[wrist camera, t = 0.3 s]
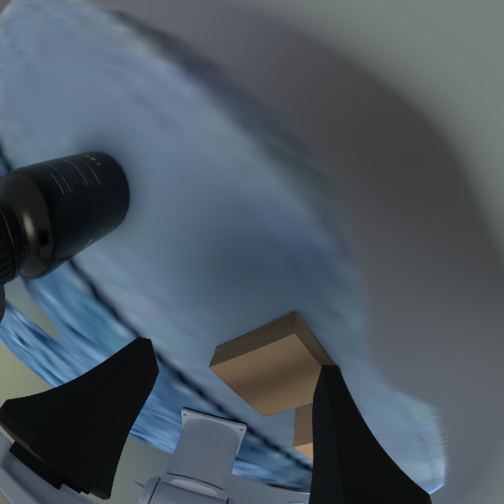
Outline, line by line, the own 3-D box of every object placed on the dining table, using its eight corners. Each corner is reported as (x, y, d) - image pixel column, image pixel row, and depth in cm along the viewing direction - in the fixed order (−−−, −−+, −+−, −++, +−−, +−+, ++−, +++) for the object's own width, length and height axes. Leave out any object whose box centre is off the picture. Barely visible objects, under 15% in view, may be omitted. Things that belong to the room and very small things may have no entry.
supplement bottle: (116, 247, 21) (12, 332, 10) (63, 207, 21) (-42, 263, 10) (144, 174, 18) (5, 233, 7) (83, 136, 18) (-46, 166, 7)
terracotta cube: (356, 414, 25) (359, 451, 21) (317, 427, 27) (315, 462, 23) (339, 393, 24) (342, 434, 20) (296, 408, 26) (293, 446, 21)
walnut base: (339, 367, 23) (341, 392, 20) (267, 393, 26) (263, 416, 23) (295, 308, 21) (294, 333, 18) (217, 343, 24) (208, 367, 21)
